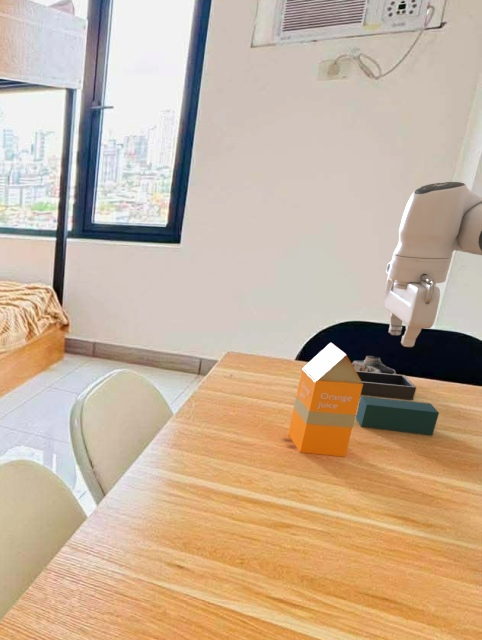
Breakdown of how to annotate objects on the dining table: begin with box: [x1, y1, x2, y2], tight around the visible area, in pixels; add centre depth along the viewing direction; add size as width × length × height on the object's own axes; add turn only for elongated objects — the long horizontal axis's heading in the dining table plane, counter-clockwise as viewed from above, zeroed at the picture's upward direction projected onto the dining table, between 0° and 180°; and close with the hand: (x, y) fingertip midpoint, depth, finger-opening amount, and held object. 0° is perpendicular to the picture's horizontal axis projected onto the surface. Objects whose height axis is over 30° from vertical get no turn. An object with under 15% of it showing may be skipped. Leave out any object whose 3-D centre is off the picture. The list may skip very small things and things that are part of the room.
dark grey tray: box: [356, 371, 417, 401], centre depth 152 cm, size 16×10×3 cm, turn 65°
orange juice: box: [287, 342, 363, 458], centre depth 120 cm, size 8×9×20 cm
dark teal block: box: [355, 395, 440, 436], centre depth 131 cm, size 12×6×5 cm, turn 65°
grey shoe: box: [351, 355, 397, 375], centre depth 163 cm, size 5×10×4 cm, turn 2°
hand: (400, 340), depth 126 cm, fingers open, 8 cm apart
